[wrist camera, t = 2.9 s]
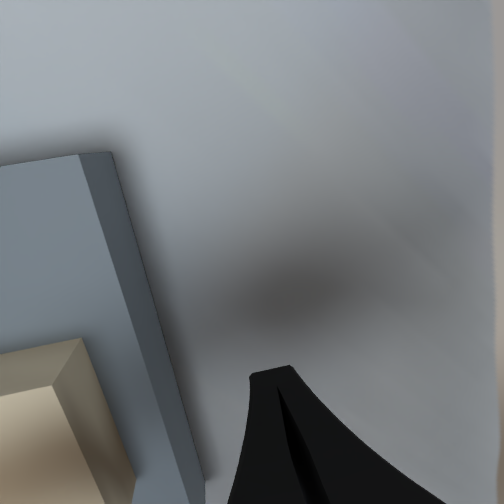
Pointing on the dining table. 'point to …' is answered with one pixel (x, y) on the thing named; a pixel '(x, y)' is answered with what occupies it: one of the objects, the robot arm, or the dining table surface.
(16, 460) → the birch tile
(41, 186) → the bench plate
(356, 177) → the dining table surface
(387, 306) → the dining table surface
